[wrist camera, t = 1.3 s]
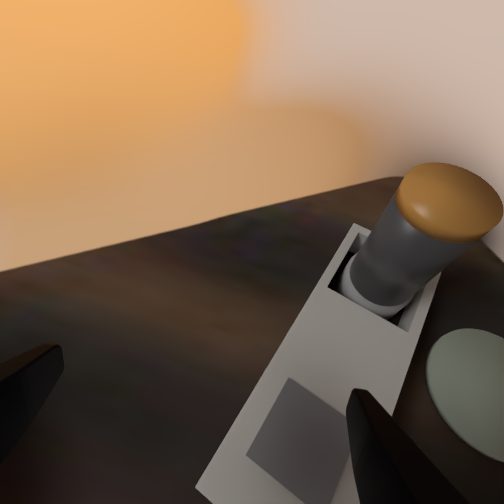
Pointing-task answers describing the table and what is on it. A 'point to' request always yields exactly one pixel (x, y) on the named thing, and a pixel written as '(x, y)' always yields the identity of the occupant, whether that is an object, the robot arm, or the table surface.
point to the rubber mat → (470, 387)
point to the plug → (419, 236)
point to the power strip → (315, 398)
